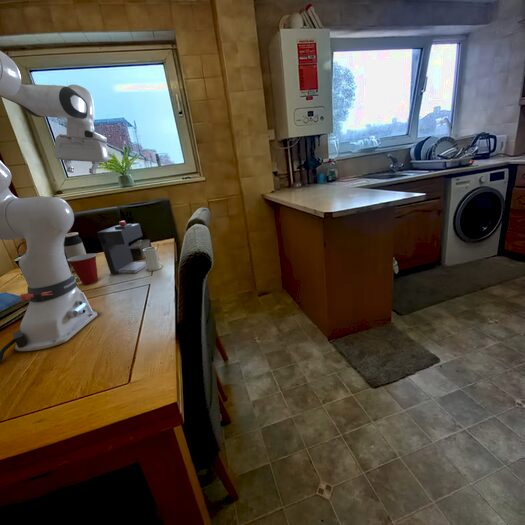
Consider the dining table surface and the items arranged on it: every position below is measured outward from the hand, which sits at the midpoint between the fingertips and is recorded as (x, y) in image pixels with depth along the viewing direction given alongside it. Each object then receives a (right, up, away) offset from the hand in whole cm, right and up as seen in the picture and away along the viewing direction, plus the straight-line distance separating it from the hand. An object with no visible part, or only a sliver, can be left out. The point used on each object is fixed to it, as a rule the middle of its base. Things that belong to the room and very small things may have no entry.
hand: (81, 173), depth 107 cm
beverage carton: (+3, -30, +45) cm, 55 cm away
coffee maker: (+7, -37, +25) cm, 46 cm away
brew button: (+7, -18, +17) cm, 26 cm away
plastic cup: (-5, -43, +15) cm, 46 cm away
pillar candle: (-31, -36, +42) cm, 63 cm away
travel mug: (-22, -38, +33) cm, 55 cm away
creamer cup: (+20, -37, +22) cm, 47 cm away
